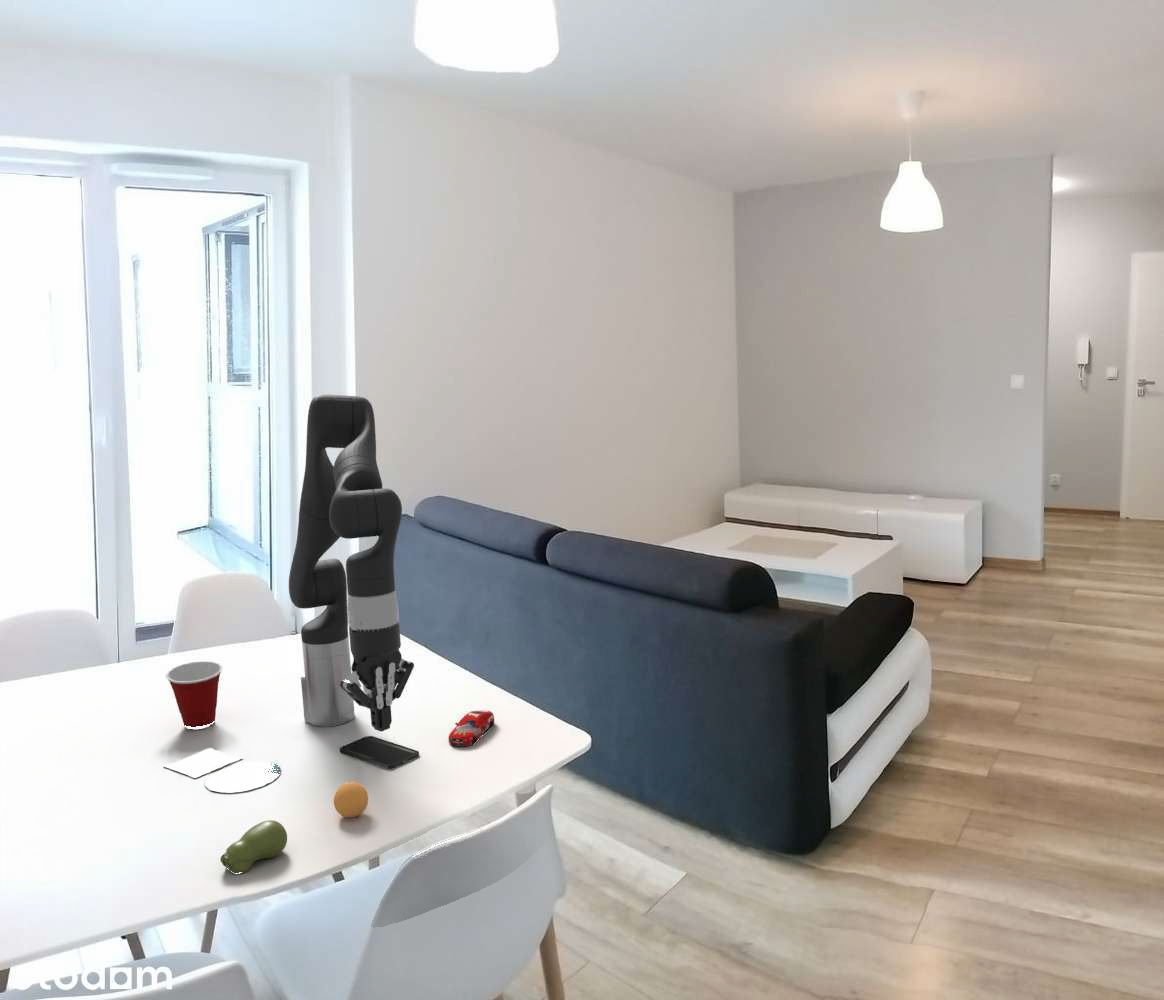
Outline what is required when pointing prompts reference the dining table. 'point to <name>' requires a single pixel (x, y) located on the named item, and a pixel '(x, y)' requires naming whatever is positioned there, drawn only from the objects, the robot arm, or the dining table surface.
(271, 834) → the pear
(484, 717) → the race car
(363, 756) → the phone
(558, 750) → the dining table surface
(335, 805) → the ball
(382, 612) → the robot arm
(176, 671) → the plastic cup
